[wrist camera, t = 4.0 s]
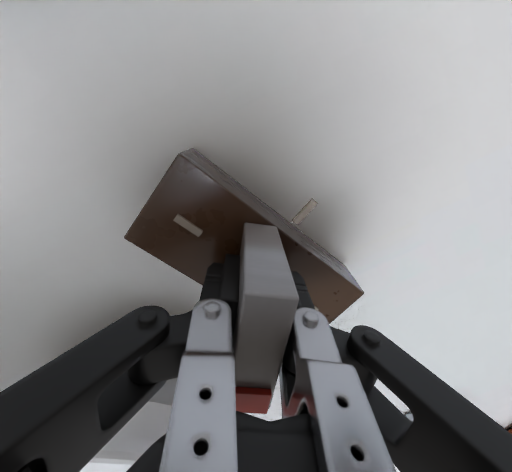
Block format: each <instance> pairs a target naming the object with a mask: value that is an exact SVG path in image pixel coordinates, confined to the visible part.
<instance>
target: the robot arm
mask: <svg viewBox="0 0 512 472" xmlns="http://www.w3.org/2000/svg"><path fill="white" fill-rule="evenodd" d="M288 264H289V263H288ZM289 267H290V266H289ZM290 271H291V270H290ZM291 274H292V277H293V280H294V283H295V286H296V290H297V293H298V296H299V302H298V306H297V309H296V313H295V317H294V320H293V324H292V327H291V331H290V335H289V338H288V342H287V346H286V349H285V353H284V357H283V360H282V364H281V367H280V371H279V378H280V391H281V404H282V419H280V420H276V421H266V420H263V419H260V418H257V417H254V416H251V415H248V414H245V413H242V412H239V411H236V393H235V357H234V353H232V341H233V334H234V328H235V322H236V315H237V309H238V302H239V277H240V255H233V254H226V255H225V262H224V263H215V262H213V263H212V264H211V265H210V266H209V267H208V269H207V273H206V276H205V281H204V284H203V288H202V292H201V296H200V300H199V302H198V303H196V304H195V306H194V307H193V310H191V311H190V312H187V313H184V314H180V315H174V316H169V313H168V312H167V311H166V310H165V309H164V308H162V307H159V306H143V307H140V308H137V309H135V310H133V311H132V312H130V313H128V314H127V315H125V316H123V317H122V318H120V319H119V320H117V321H115V322H114V323H112V324H110V325H109V326H107V327H106V328H104V329H102V330H101V331H99V332H97V333H96V334H94V335H93V336H91V337H89V338H88V339H86V340H84V341H83V342H81V343H80V344H78V345H76V346H75V347H73V348H71V349H70V350H68V351H67V352H65V353H63V354H62V355H60V356H58V357H57V358H55V359H54V360H52V361H50V362H49V363H47V364H45V365H44V366H42V367H41V368H39V369H37V370H36V371H34V372H32V373H31V374H29V375H28V376H26V377H24V378H23V379H21V380H19V381H18V382H16V383H15V384H13V385H11V386H10V387H8V388H6V389H5V390H3V391H2V392H0V472H80V470H81V469H82V468H83V467H84V466H85V465H86V464H87V463H88V462H89V461H90V460H91V459H92V458H93V457H94V456H95V455H96V454H97V453H98V452H99V451H100V450H101V449H102V448H103V447H104V446H105V445H106V444H107V443H108V442H109V441H110V440H111V439H112V438H113V437H114V436H115V435H116V434H117V433H118V432H119V431H120V430H121V429H122V428H123V427H124V426H125V425H126V423H127V422H128V421H129V420H130V419H131V418H132V417H133V416H134V415H135V414H136V413H137V412H138V411H139V410H140V409H141V408H142V407H143V406H144V405H145V404H146V403H147V402H148V401H149V400H150V399H151V398H152V397H153V396H154V395H155V394H156V393H157V392H158V391H159V390H160V389H161V388H162V387H163V386H164V384H165V383H166V381H167V380H169V379H174V378H177V383H176V388H175V393H174V398H173V403H172V408H171V413H170V418H169V423H168V428H167V433H166V434H165V435H163V436H162V437H160V438H159V439H158V440H157V441H156V442H155V443H153V444H152V445H151V446H150V447H149V448H148V449H147V450H146V451H145V452H144V453H143V454H142V455H141V457H140V458H139V459H138V460H137V461H136V462H135V463H134V464H133V465H132V466H131V467H130V468H129V469H128V470H127V471H126V472H396V470H395V467H394V465H395V466H396V467H397V468H398V469H399V471H400V472H512V434H511V433H510V432H508V431H507V430H506V429H504V428H503V427H502V426H501V425H499V424H498V423H497V422H495V421H494V420H493V419H491V418H490V417H489V416H488V415H486V414H485V413H484V412H482V411H481V410H480V409H479V408H477V407H476V406H475V405H473V404H472V403H471V402H469V401H468V400H467V399H466V398H464V397H463V396H462V395H460V394H459V393H458V392H457V391H455V390H454V389H453V388H451V387H450V386H449V385H447V384H446V383H445V382H444V381H442V380H441V379H440V378H438V377H437V376H436V375H435V374H433V373H432V372H431V371H429V370H428V369H427V368H426V367H424V366H423V365H422V364H420V363H419V362H418V361H416V360H415V359H414V358H413V357H411V356H410V355H409V354H407V353H406V352H405V351H404V350H402V349H401V348H400V347H398V346H397V345H396V344H394V343H393V342H392V341H391V340H389V339H388V338H387V337H385V336H384V335H383V334H382V333H380V332H379V331H377V330H375V329H373V328H371V327H368V326H363V325H359V326H355V327H353V329H352V330H351V333H348V332H345V331H342V330H339V329H336V328H333V327H331V326H330V325H329V322H328V320H327V319H326V317H325V316H324V315H323V314H322V313H320V312H319V311H317V310H315V307H314V305H313V302H312V300H311V297H310V294H309V292H308V289H307V286H306V284H305V281H304V279H303V277H302V276H301V275H300V274H299V273H298V272H295V271H291ZM377 378H378V379H379V380H380V381H381V382H382V383H383V384H384V385H385V386H386V387H387V388H389V389H390V390H391V391H392V392H393V393H394V394H395V395H396V396H397V397H398V398H399V399H400V400H401V401H403V402H404V403H405V404H406V405H407V406H408V408H409V409H410V411H411V413H412V415H413V421H411V420H409V419H408V418H407V417H406V416H405V415H403V414H402V413H401V412H400V411H399V410H398V409H397V408H396V407H395V406H394V405H393V404H392V403H391V402H390V401H389V400H388V399H387V398H386V397H385V396H384V395H383V394H382V393H381V392H380V391H379V390H378V389H377V388H376V387H375V386H374V384H375V382H376V380H377ZM393 464H394V465H393Z"/></svg>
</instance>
